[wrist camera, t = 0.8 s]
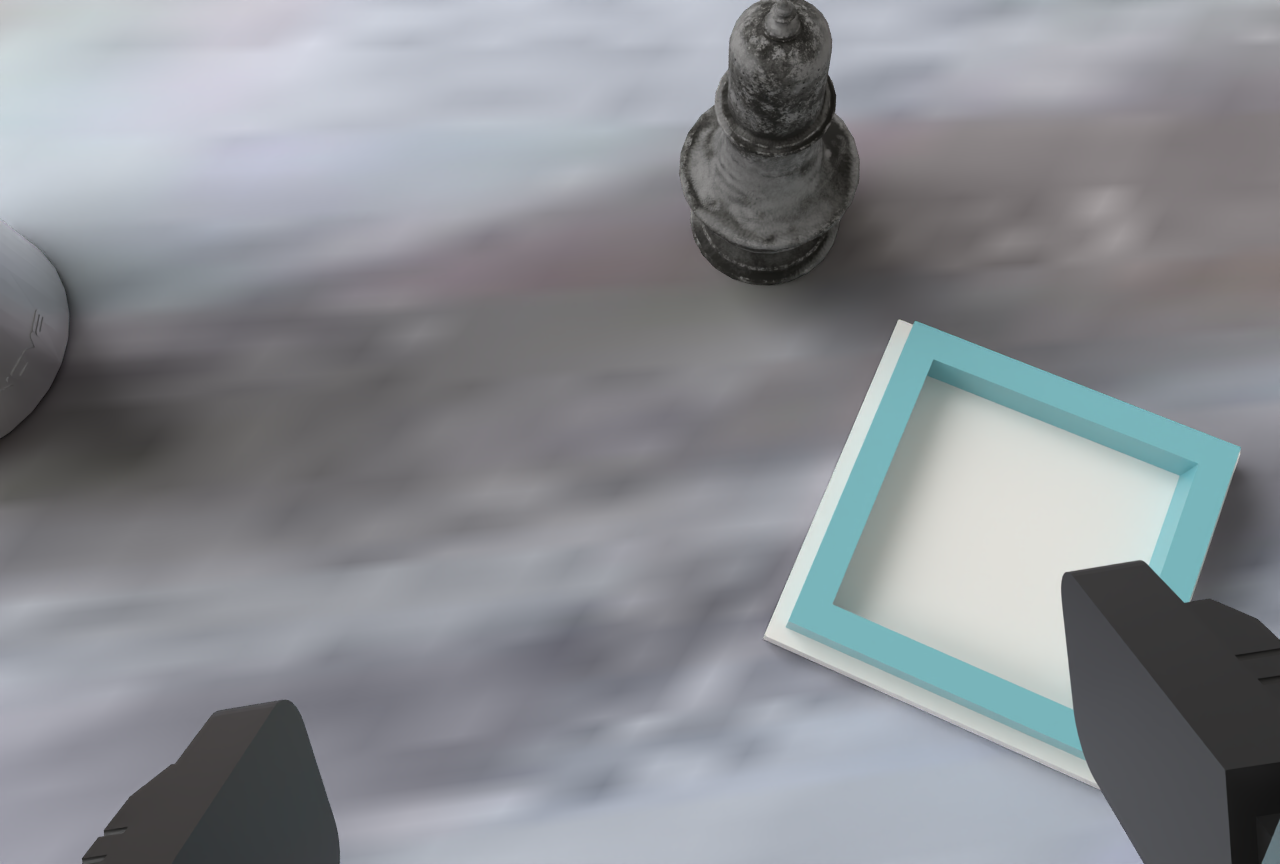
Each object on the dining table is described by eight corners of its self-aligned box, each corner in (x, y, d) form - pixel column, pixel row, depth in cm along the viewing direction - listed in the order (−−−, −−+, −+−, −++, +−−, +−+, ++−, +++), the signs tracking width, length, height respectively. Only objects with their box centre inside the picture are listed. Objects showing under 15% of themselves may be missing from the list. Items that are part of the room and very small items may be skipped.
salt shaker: (653, 252, 41) (631, 50, 30) (726, 119, 43) (730, -123, 31) (805, 319, 40) (842, 136, 29) (874, 180, 42) (936, -47, 30)
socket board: (762, 638, 37) (766, 629, 35) (894, 330, 40) (905, 301, 38) (1114, 796, 35) (1143, 797, 33) (1227, 460, 38) (1261, 439, 36)
